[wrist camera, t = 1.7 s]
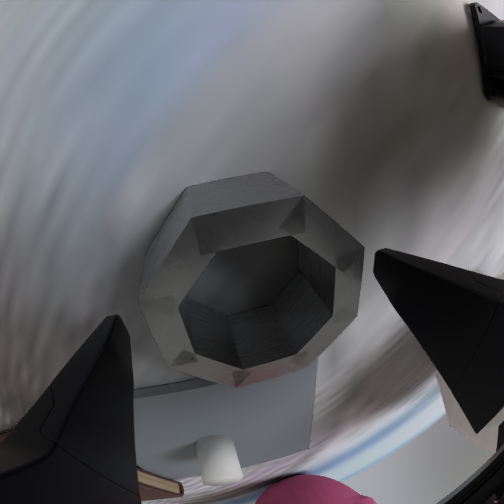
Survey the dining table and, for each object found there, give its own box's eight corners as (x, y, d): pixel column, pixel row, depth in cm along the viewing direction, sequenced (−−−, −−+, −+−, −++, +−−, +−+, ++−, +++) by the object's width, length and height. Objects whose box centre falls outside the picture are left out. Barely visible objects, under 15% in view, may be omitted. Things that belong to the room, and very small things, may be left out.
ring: (318, 164, 10) (367, 184, 7) (320, 307, 13) (351, 351, 10) (130, 200, 9) (112, 236, 6) (179, 344, 12) (185, 398, 9)
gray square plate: (313, 347, 14) (343, 399, 11) (306, 443, 21) (320, 474, 18) (69, 395, 12) (61, 448, 9) (157, 474, 19) (162, 507, 16)
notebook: (183, 483, 19) (185, 500, 17) (71, 491, 20) (71, 503, 18) (43, 418, 12) (38, 444, 10) (-26, 437, 12) (-30, 450, 11)
